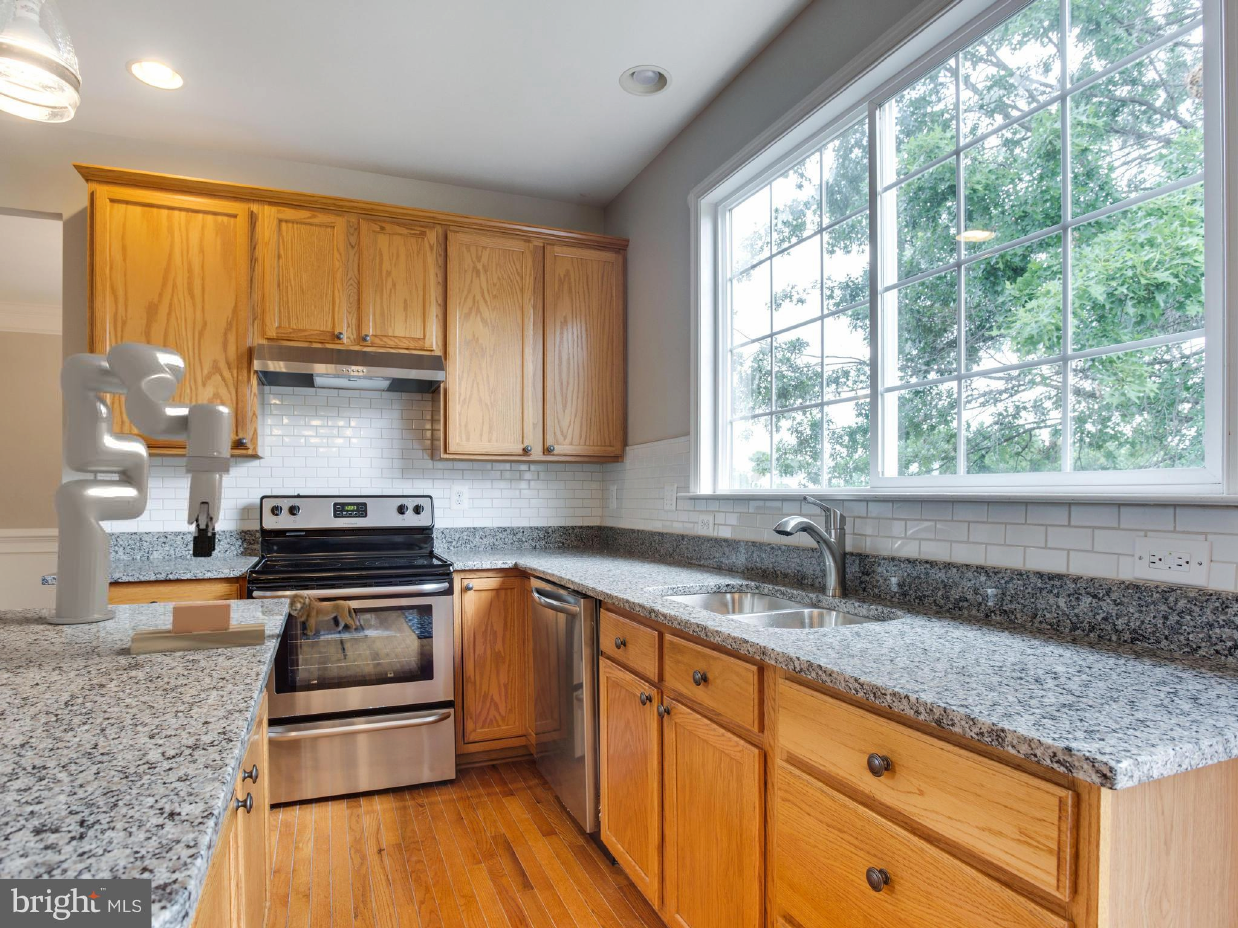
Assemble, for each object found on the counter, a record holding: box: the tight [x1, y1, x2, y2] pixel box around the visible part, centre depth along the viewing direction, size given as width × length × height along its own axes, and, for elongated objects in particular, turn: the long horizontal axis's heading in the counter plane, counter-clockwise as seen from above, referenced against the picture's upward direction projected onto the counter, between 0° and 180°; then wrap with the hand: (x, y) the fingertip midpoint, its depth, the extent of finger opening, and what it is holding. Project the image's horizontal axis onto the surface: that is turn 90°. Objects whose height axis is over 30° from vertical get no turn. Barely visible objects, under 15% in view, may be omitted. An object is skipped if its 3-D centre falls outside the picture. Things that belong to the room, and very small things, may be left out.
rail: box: [130, 622, 266, 655], centre depth 138 cm, size 7×22×3 cm, turn 117°
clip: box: [171, 600, 232, 634], centre depth 138 cm, size 4×10×8 cm, turn 117°
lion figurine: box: [287, 591, 362, 636], centre depth 152 cm, size 15×5×9 cm, turn 121°
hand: (204, 554), depth 139 cm, fingers open, 9 cm apart
